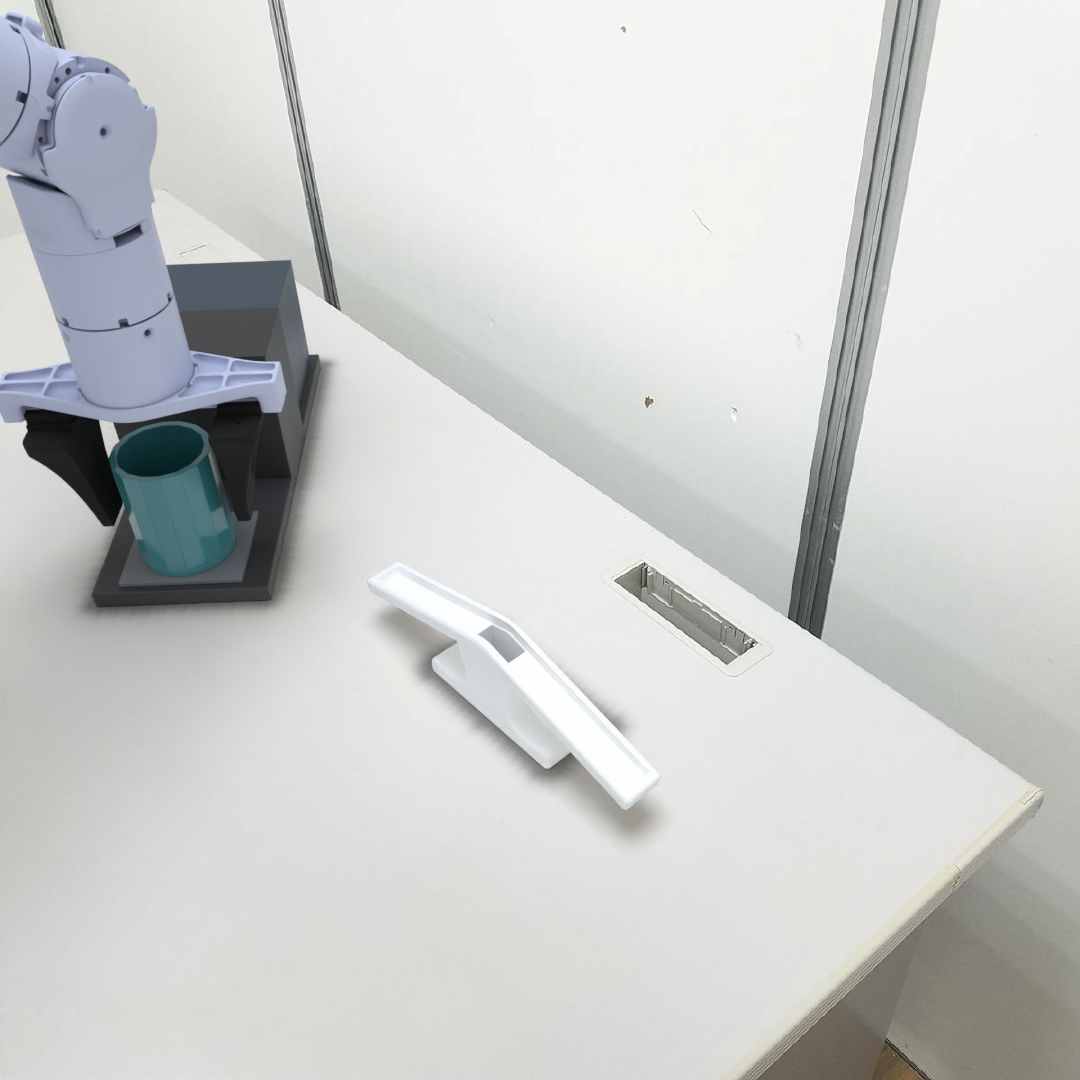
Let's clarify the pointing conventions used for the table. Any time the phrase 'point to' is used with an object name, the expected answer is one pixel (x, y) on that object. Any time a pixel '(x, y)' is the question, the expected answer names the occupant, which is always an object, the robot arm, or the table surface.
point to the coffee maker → (226, 330)
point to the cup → (174, 497)
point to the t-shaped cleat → (518, 684)
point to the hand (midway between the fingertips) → (180, 512)
